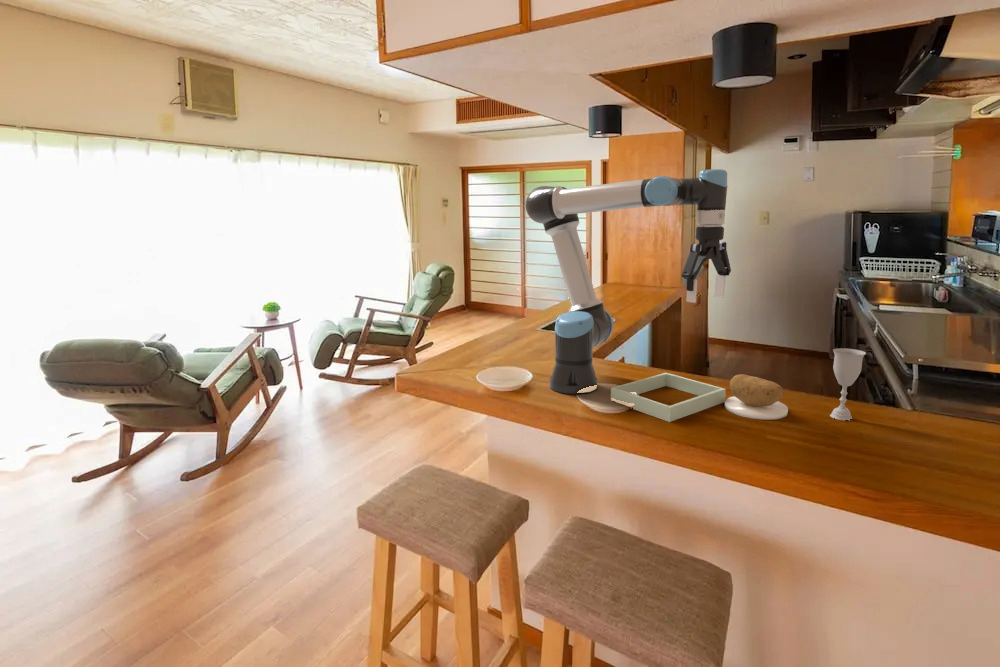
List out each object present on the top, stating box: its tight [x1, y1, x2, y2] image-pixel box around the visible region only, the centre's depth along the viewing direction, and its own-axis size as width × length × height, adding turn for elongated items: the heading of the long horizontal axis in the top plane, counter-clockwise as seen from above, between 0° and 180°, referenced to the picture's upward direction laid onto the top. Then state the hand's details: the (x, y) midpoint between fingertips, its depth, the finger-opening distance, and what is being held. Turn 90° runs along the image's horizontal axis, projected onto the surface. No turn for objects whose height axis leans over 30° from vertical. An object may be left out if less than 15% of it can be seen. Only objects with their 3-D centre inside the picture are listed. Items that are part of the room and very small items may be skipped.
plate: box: [724, 395, 789, 421], centre depth 153 cm, size 16×16×1 cm
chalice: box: [829, 347, 867, 421], centre depth 144 cm, size 7×7×18 cm
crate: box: [610, 372, 727, 423], centre depth 160 cm, size 21×25×4 cm
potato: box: [729, 373, 784, 406], centre depth 152 cm, size 10×14×8 cm
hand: (705, 299), depth 161 cm, fingers open, 13 cm apart
